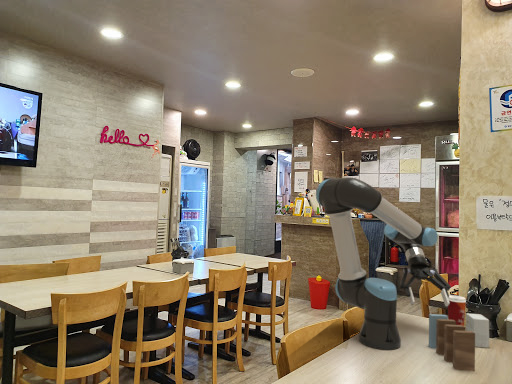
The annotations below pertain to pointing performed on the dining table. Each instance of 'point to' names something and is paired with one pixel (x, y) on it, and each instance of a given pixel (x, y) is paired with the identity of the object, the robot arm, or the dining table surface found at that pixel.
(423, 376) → the dining table surface
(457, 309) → the paper cup
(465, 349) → the domino
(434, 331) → the blue domino
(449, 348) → the domino
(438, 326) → the domino
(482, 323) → the small box
